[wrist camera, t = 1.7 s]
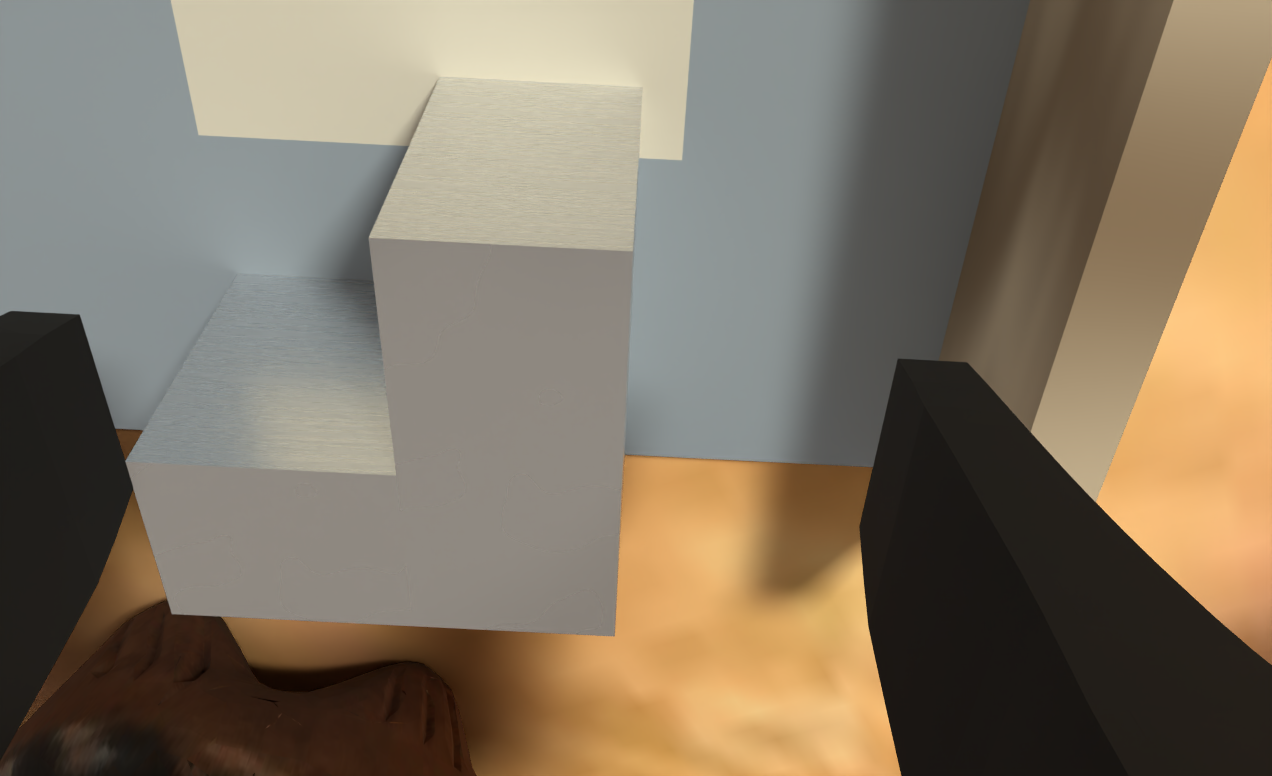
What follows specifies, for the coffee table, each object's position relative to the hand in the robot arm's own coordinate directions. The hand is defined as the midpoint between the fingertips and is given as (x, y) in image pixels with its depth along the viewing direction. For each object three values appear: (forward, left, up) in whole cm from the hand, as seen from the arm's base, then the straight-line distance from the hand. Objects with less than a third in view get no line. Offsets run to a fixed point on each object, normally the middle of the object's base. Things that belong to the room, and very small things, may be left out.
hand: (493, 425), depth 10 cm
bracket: (-2, +2, -5) cm, 6 cm away
